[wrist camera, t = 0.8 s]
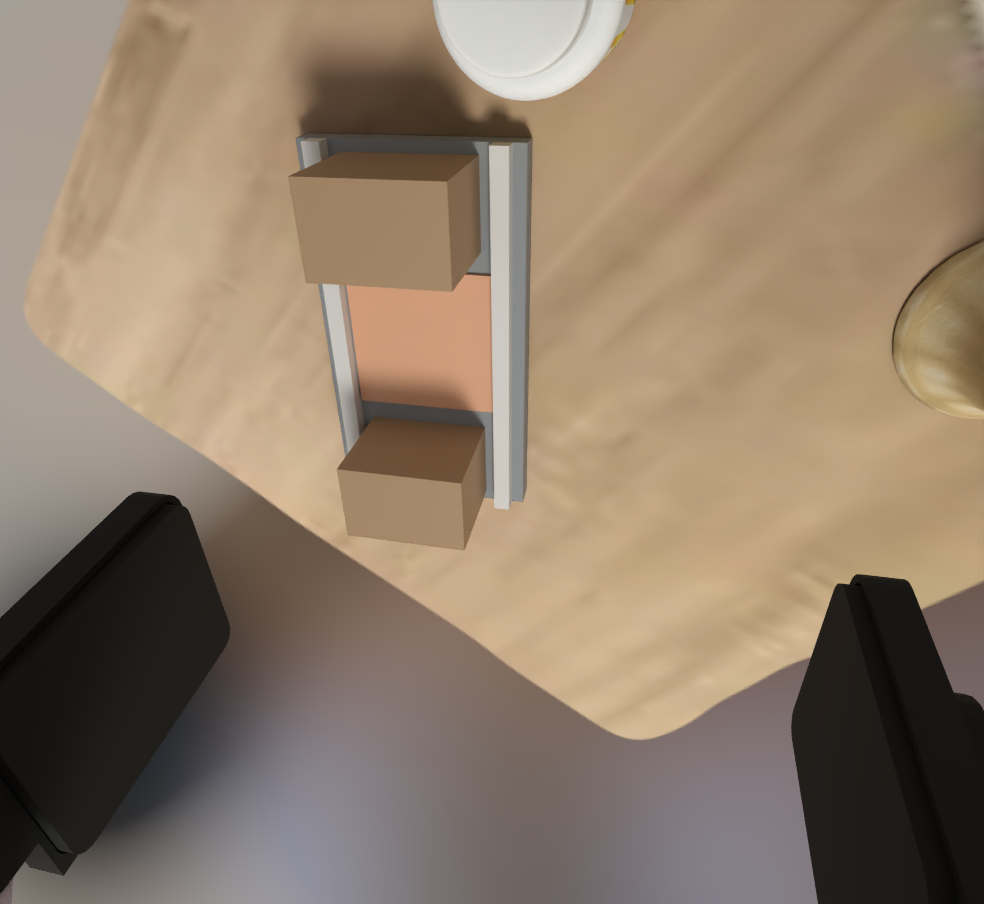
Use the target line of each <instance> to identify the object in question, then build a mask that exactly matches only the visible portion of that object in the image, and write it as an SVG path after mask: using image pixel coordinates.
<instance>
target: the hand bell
mask: <svg viewBox="0 0 984 904" xmlns="http://www.w3.org/2000/svg"><path fill="white" fill-rule="evenodd" d="M893 359H894V363H895V367H896V371H897V373H898V375H899V377H900V379H901V381H902V383H903V384H904V386H905V387H906V388H907V390H908V391H909V392H910V393H911V394H912V395H913V396H914V397H915V398H916V399H918V400H919V401H921V402H922V403H923V404H925V405H926V406H928V407H930V408H932V409H934V410H937V411H939V412H942V413H944V414H948V415H951V416H956V417H962V418H969V419H984V241H982V242H980V243H978V244H975V245H973V246H971V247H969V248H968V249H966V250H964V251H961V252H959V253H958V254H956V255H955V256H953V257H951V258H950V259H948V260H947V261H946V262H944V263H943V264H942V265H940V266H939V267H938V268H937V269H935V270H934V271H933V272H932V273H931V274H930V275H929V276H928V277H927V278H926V279H925V280H924V281H923V282H922V283H921V284H920V285H919V286H918V287H917V288H916V290H915V291H914V293H913V294H912V295H911V297H910V298H909V300H908V301H907V303H906V305H905V307H904V308H903V310H902V312H901V314H900V316H899V319H898V321H897V325H896V328H895V333H894V339H893Z"/></svg>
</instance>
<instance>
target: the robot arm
mask: <svg viewBox="0 0 984 904" xmlns="http://www.w3.org/2000/svg"><path fill="white" fill-rule="evenodd" d="M229 635H230V625H229V621H228V619H227V616H226V613H225V610H224V607H223V605H222V602H221V599H220V596H219V593H218V591H217V588H216V585H215V582H214V579H213V577H212V574H211V571H210V569H209V565H208V563H207V560H206V557H205V554H204V551H203V549H202V546H201V543H200V540H199V537H198V535H197V532H196V529H195V526H194V523H193V521H192V518H191V515H190V513H189V511H188V509H187V508H186V507H184V506H182V504H181V502H180V501H179V499H177V498H176V497H175V496H171V495H165V494H156V493H147V492H135V493H133V494H131V495H130V496H128V497H127V498H126V499H125V500H124V501H123V502H122V503H121V504H120V505H119V506H117V507H116V509H114V510H113V511H112V512H111V513H110V514H109V515H108V516H107V517H106V518H105V519H104V520H103V521H102V522H101V523H100V524H99V525H98V526H96V527H95V528H94V529H93V530H92V531H91V532H90V533H89V534H88V535H87V536H86V537H85V538H84V539H83V540H82V541H81V542H80V543H79V544H78V545H76V546H75V547H74V548H73V549H72V550H71V551H70V552H69V553H68V554H67V555H66V556H65V557H64V558H63V559H62V560H61V561H60V562H59V563H58V564H56V566H54V567H53V568H52V569H51V570H50V571H49V572H48V573H47V574H46V575H45V576H44V577H43V578H42V579H41V580H40V581H39V582H38V583H37V584H36V585H34V586H33V587H32V588H31V589H30V590H29V591H28V592H27V593H26V594H25V595H24V596H23V597H22V598H21V599H20V600H19V601H18V602H17V603H15V604H14V605H13V606H12V607H11V608H10V609H9V610H8V611H7V612H6V613H5V614H4V615H3V616H2V617H1V618H0V904H11V902H12V882H13V881H12V880H13V877H14V875H15V874H16V872H17V871H18V870H19V868H20V867H21V866H22V865H23V863H24V862H26V863H27V864H28V865H29V867H30V868H34V869H38V870H43V871H47V872H51V873H55V874H59V875H63V876H64V875H65V873H66V872H67V870H68V868H69V867H70V866H71V864H72V863H73V861H74V860H75V858H76V857H77V855H78V854H81V853H84V852H85V851H87V850H88V849H89V848H90V847H91V846H92V845H93V844H94V842H95V841H96V840H97V838H98V837H99V836H100V834H101V833H102V831H103V830H104V828H105V827H106V825H107V824H108V822H109V821H110V819H111V818H112V816H113V815H114V813H115V812H116V810H117V809H118V807H119V806H120V804H121V803H122V801H123V800H124V798H125V797H126V795H127V794H128V792H129V791H130V789H131V788H132V786H133V785H134V783H135V782H136V780H137V779H138V777H139V776H140V774H141V773H142V771H143V769H144V768H145V767H146V765H147V764H148V762H149V761H150V759H151V758H152V756H153V755H154V753H155V752H156V750H157V749H158V747H159V746H160V744H161V743H162V741H163V740H164V738H165V737H166V735H167V734H168V732H169V731H170V729H171V728H172V726H173V725H174V723H175V722H176V720H177V719H178V717H179V716H180V714H181V713H182V711H183V710H184V708H185V707H186V705H187V704H188V702H189V701H190V699H191V698H192V696H193V695H194V693H195V692H196V690H197V689H198V687H199V686H200V685H201V683H202V681H203V680H204V679H205V677H206V675H207V674H208V672H209V671H210V670H211V668H212V666H213V665H214V664H215V662H216V661H217V659H218V657H219V656H220V654H221V653H222V652H223V650H224V648H225V647H226V645H227V642H228V639H229ZM791 729H792V741H793V748H794V754H795V761H796V767H797V773H798V780H799V786H800V792H801V798H802V805H803V811H804V817H805V824H806V830H807V836H808V843H809V849H810V855H811V862H812V868H813V874H814V880H815V887H816V893H817V899H818V904H984V711H983V709H982V707H981V705H980V704H979V703H978V702H977V701H976V700H975V699H974V698H973V697H972V696H969V695H966V694H960V693H954V692H953V690H952V687H951V685H950V682H949V680H948V678H947V675H946V672H945V670H944V667H943V664H942V662H941V660H940V657H939V655H938V652H937V649H936V647H935V644H934V642H933V639H932V637H931V634H930V632H929V629H928V626H927V624H926V621H925V619H924V616H923V614H922V611H921V609H920V606H919V604H918V601H917V599H916V596H915V594H914V591H913V589H912V587H911V585H910V583H909V582H908V581H906V580H905V579H896V578H887V577H878V576H870V575H861V574H857V575H855V576H854V577H853V578H852V580H851V582H850V585H849V584H837V585H836V587H835V589H834V591H833V594H832V597H831V600H830V603H829V606H828V609H827V612H826V615H825V618H824V621H823V624H822V627H821V630H820V633H819V636H818V639H817V642H816V645H815V648H814V651H813V654H812V657H811V659H810V662H809V666H808V668H807V672H806V674H805V677H804V680H803V683H802V686H801V689H800V692H799V695H798V698H797V701H796V704H795V707H794V710H793V715H792V725H791Z"/></svg>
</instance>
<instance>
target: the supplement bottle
mask: <svg viewBox="0 0 984 904" xmlns="http://www.w3.org/2000/svg"><path fill="white" fill-rule="evenodd" d="M432 2H433V8H434V14H435V18H436V22H437V26H438V29H439V32H440V34H441V37H442V40H443V42H444V44H445V46H446V48H447V50H448V52H449V53H450V55H451V56H452V58H453V60H454V61H455V62H456V64H457V65H458V66H459V67H460V69H461V70H462V71H463V72H464V73H465V74H466V75H467V76H468V77H469V78H470V79H471V80H472V81H474V82H475V83H476V84H478V85H479V86H480V87H482V88H484V89H485V90H487V91H489V92H491V93H493V94H495V95H498V96H500V97H504V98H508V99H512V100H520V101H532V100H540V99H544V98H549V97H552V96H555V95H558V94H560V93H562V92H564V91H566V90H568V89H570V88H572V87H573V86H575V85H576V84H578V83H579V82H580V81H582V80H583V79H584V78H585V77H587V76H588V75H589V74H590V73H591V72H592V71H593V70H594V69H595V68H596V67H597V66H598V65H599V64H600V63H601V62H602V61H603V60H604V59H605V58H606V57H607V56H608V55H609V53H610V52H611V51H612V50H613V49H614V48H615V46H616V45H617V44H618V42H619V41H620V39H621V37H622V36H623V34H624V32H625V30H626V28H627V26H628V24H629V21H630V18H631V15H632V12H633V8H634V4H635V0H432Z"/></svg>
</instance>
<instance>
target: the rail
mask: <svg viewBox="0 0 984 904" xmlns="http://www.w3.org/2000/svg"><path fill="white" fill-rule="evenodd" d="M296 143H297V150H298V156H299V162H300V169H301V171H299V172H297V173H295V174H292V175H290V176H288V177H289V183H290V189H291V195H292V201H293V207H294V214H295V220H296V226H297V232H298V238H299V244H300V250H301V256H302V262H303V268H304V274H305V280H306V283H318V284H319V291H320V297H321V304H322V310H323V316H324V323H325V329H326V336H327V342H328V348H329V355H330V361H331V368H332V374H333V381H334V387H335V393H336V400H337V406H338V413H339V419H340V425H341V432H342V438H343V445H344V451H345V459H344V460H343V461H342V463H341V464H340V466H339V467H338V469H337V473H338V479H339V485H340V491H341V497H342V503H343V509H344V515H345V521H346V527H347V533H348V535H351V536H358V537H366V538H373V539H381V540H388V541H396V542H403V543H411V544H418V545H426V546H433V547H441V548H448V549H456V550H465V547H466V545H467V542H468V539H469V537H470V534H471V531H472V528H473V526H474V523H475V520H476V518H477V515H478V512H479V509H480V507H481V504H482V501H483V499H484V497H485V498H493V499H494V508H500V509H508V510H509V508H510V505H511V502H512V501H519V502H523V499H524V496H525V492H526V484H527V425H528V366H529V307H530V248H531V190H532V138H517V137H468V136H420V135H372V134H323V133H307V134H304V135H302V136H299V137H296Z"/></svg>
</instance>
